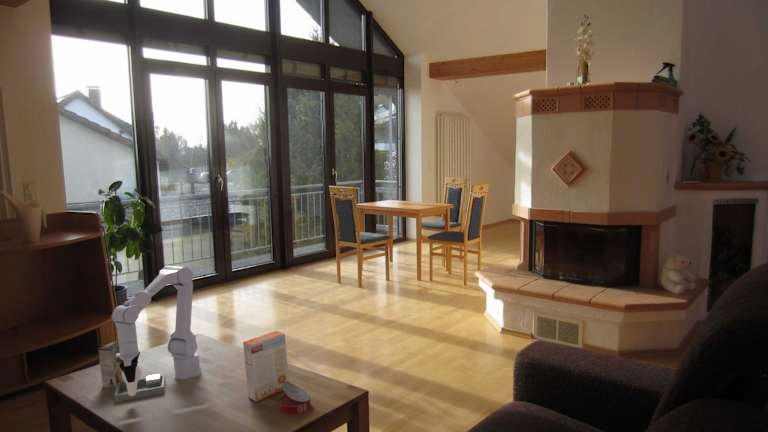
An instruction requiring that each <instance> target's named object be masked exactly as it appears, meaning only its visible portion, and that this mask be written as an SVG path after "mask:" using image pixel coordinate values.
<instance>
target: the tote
mask: <svg viewBox="0 0 768 432" xmlns="http://www.w3.org/2000/svg"><path fill="white" fill-rule="evenodd" d="M160 377H161V386H160V387H154V388H149V389H147V385H146V378H147V377H143V378H140V379H139V380H138V383H137V388H136V394H135V395H134V396H130V395H128V389H127V385H126V383H125V382H119V383H118V385H117V388H115V392H114V396H113V398H114V403H119V402H125V401H131V400H136V399H142V398H147V397H152V396H156V395H157V396H158V395H164V394H165V391H166V390H165V389H166V374H160Z"/></svg>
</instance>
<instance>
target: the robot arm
mask: <svg viewBox="0 0 768 432" xmlns="http://www.w3.org/2000/svg"><path fill="white" fill-rule="evenodd" d="M158 272H159V273H158V275H156V277H155V278H154V279H153V280H152V282H150V283H149V285H147V287H145V289H143V290H137V291H135V292H134V293H133V295H132V296H131V297H130V298H129V299H128V300H126V301H125V302H123V304H122V305H118V306H116V307H115V308H114V309H113V310H112V313H111V320H112V321H113V322H114V325H115V327H116V334H117V340H118V342H119V350H120V353H117V354H116V357H120V358H121V359H122V360H123V361H124V363H120V365H119V366H120V368H121V369H122V371H123V372H124V374H125V377H126V380H127V382H128V383H130V382H135V373H136V367H137V365H138V364H139V361H138V360H139V357H140V355H141V351H140V350H139V345H138V337H137V336H138V335H137V326H136V322H137V320H138V318H139V315H140V314H141V312H142V311H143V310H144V309H145V308H146V307H147V306H148V305H149V304H150V303H152V297H154V295H156V294H158V292H160V291H161V290H162V289H164V287H166V286H167V285H171V286H173V287H174V288H175V289H176V290H177V298H176V312H175V314H176V315H175V328H174V329H175V330H174V331H173V332H172V333H171V334H170V335H169V336H170V337H169V340H168V342H167V343H168V344H167V351H168V353H170V354H171V357H173V368H174V378H175V379H176V380H187V379H191V378H194V377H200V376H201V372H202V367H201V365H200V355H199V353H198V352H197V349H198V344H197V337H196V334H194V333H193V331H192V330H191V327H192V326H191V325H192V311H193V310H192V308H193V293H194V292H193V291H194V281H193V277H194V276H193V273H194V272H193V271H192V269H190V268H189V267H188V266H177V265H176V266H175V265H170V264H168V265H165V266H164V267H162V269H160V270H159V271H158Z"/></svg>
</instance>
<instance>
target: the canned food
mask: <svg viewBox="0 0 768 432" xmlns="http://www.w3.org/2000/svg"><path fill="white" fill-rule="evenodd" d="M283 392H284V394H285V395H283V396H282V397H281V398H280V400H279V401H280V410H281V412H282V413H284V414H286V415H298V414H302V413H304V412H307V411H308V410H309V409H310V408H309V407H311V397H310V395H309V393H308V392H307V391H306V390H304V389H303V388H301V387H300V386H298V385H296V384H295V383H291V382H290V381H289V382H288V381H285V382H283Z"/></svg>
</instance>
